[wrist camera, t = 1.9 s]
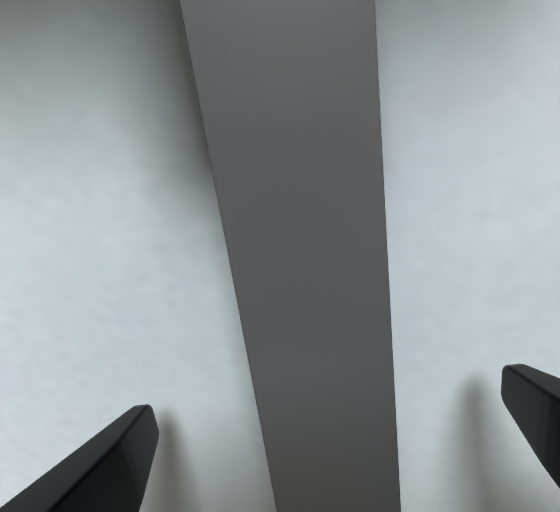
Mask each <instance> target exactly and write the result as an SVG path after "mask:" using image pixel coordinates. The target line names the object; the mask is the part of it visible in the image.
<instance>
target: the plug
mask: <svg viewBox="0 0 560 512" xmlns="http://www.w3.org/2000/svg"><path fill="white" fill-rule="evenodd" d="M180 4H181V10H182V15H183V20H184V25H185V31H186V36H187V41H188V46H189V52H190V57H191V62H192V67H193V73H194V78H195V83H196V88H197V94H198V99H199V104H200V109H201V115H202V120H203V125H204V130H205V136H206V141H207V146H208V151H209V157H210V162H211V167H212V172H213V177H214V183H215V188H216V193H217V198H218V204H219V209H220V214H221V219H222V225H223V230H224V235H225V240H226V246H227V251H228V256H229V261H230V267H231V272H232V277H233V282H234V288H235V293H236V298H237V303H238V309H239V314H240V319H241V324H242V330H243V335H244V340H245V345H246V351H247V356H248V361H249V366H250V372H251V377H252V382H253V387H254V393H255V398H256V403H257V408H258V414H259V419H260V424H261V429H262V435H263V440H264V445H265V450H266V456H267V461H268V466H269V471H270V477H271V482H272V487H273V492H274V498H275V503H276V508H277V512H401V504H400V485H399V466H398V446H397V427H396V408H395V389H394V369H393V350H392V331H391V311H390V292H389V273H388V254H387V234H386V215H385V196H384V177H383V157H382V138H381V119H380V99H379V80H378V61H377V42H376V22H375V3H374V0H180Z"/></svg>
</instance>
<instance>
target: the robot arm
mask: <svg viewBox="0 0 560 512" xmlns="http://www.w3.org/2000/svg"><path fill="white" fill-rule="evenodd" d="M501 396H502V400H503V402H504V404H505V406H506V407H507V409H508V411H509V412H510V414H511V415H512V417H513V419H514V420H515V422H516V424H517V425H518V427H519V428H520V430H521V432H522V433H523V435H524V436H525V438H526V440H527V441H528V443H529V444H530V446H531V448H532V449H533V451H534V453H535V454H536V456H537V457H538V459H539V460H540V462H541V463H542V465H543V466H544V468H545V469H546V470H547V472H548V473H549V475H550V476H551V477H552V479H553V480H554V481H555V483H556V484H557V485H558V487H559V488H560V378H557V377H555V376H552V375H550V374H547V373H545V372H542V371H540V370H537V369H535V368H532V367H529V366H527V365H524V364H513V365H506V366H504V367H503V370H502V384H501ZM158 439H159V429H158V425H157V422H156V419H155V415H154V412H153V409H152V407H151V406H150V405H148V404H146V405H137V406H134V407H132V408H131V409H129V410H128V411H127V412H125V413H124V414H123V415H121V416H120V417H119V418H117V419H116V420H115V421H114V422H112V423H111V424H110V425H108V426H107V427H106V428H104V429H103V430H102V431H100V432H99V433H98V434H96V435H95V436H94V437H93V438H91V439H90V440H89V441H87V442H86V443H85V444H83V445H82V446H81V447H79V448H78V449H77V450H75V451H74V452H73V453H72V454H70V455H69V456H68V457H66V458H65V459H64V460H62V461H61V462H60V463H58V464H57V465H56V466H54V467H53V468H52V469H51V470H49V471H48V472H47V473H45V474H44V475H43V476H41V477H40V478H39V479H37V480H36V481H35V482H33V483H32V484H31V485H30V486H28V487H27V488H26V489H24V490H23V491H22V492H20V493H19V494H18V495H16V496H15V497H14V498H12V499H11V500H10V501H9V502H7V503H6V504H5V505H3V506H2V507H1V508H0V512H139V509H140V506H141V503H142V500H143V496H144V493H145V489H146V485H147V482H148V478H149V474H150V470H151V466H152V462H153V458H154V455H155V451H156V447H157V443H158Z"/></svg>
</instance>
